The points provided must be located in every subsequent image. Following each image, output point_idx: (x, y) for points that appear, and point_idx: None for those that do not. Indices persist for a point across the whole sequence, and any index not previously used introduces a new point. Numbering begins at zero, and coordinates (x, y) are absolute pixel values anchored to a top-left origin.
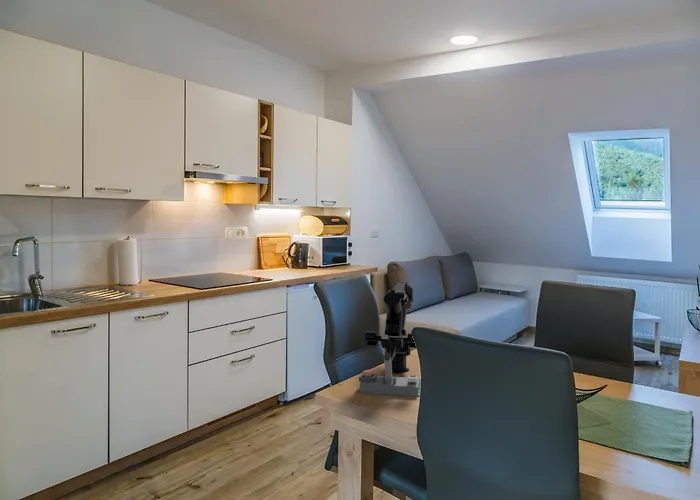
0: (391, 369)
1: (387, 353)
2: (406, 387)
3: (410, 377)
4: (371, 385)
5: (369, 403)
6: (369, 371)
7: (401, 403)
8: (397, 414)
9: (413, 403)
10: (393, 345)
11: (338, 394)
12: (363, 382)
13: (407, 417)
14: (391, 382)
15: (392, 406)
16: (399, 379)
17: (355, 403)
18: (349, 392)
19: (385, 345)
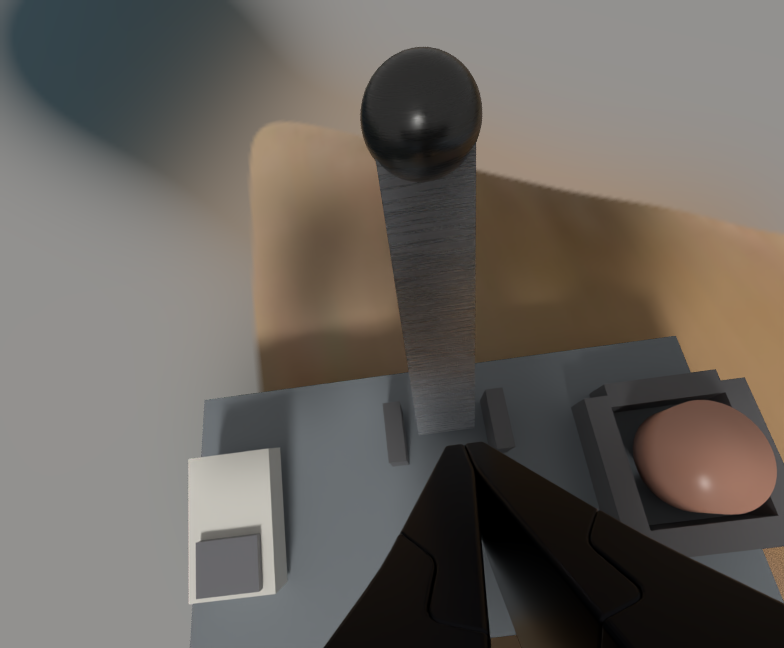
0: (402, 330)
1: (412, 52)
2: (292, 389)
3: (249, 497)
4: (572, 352)
5: (497, 219)
6: (699, 462)
7: (321, 274)
8: (318, 149)
9: (255, 295)
10: (433, 627)
11: (757, 283)
12: (662, 372)
13: (269, 137)
14: (430, 449)
15: (362, 222)
16: (380, 565)
17: (572, 195)
18: (711, 340)
19: (723, 583)
